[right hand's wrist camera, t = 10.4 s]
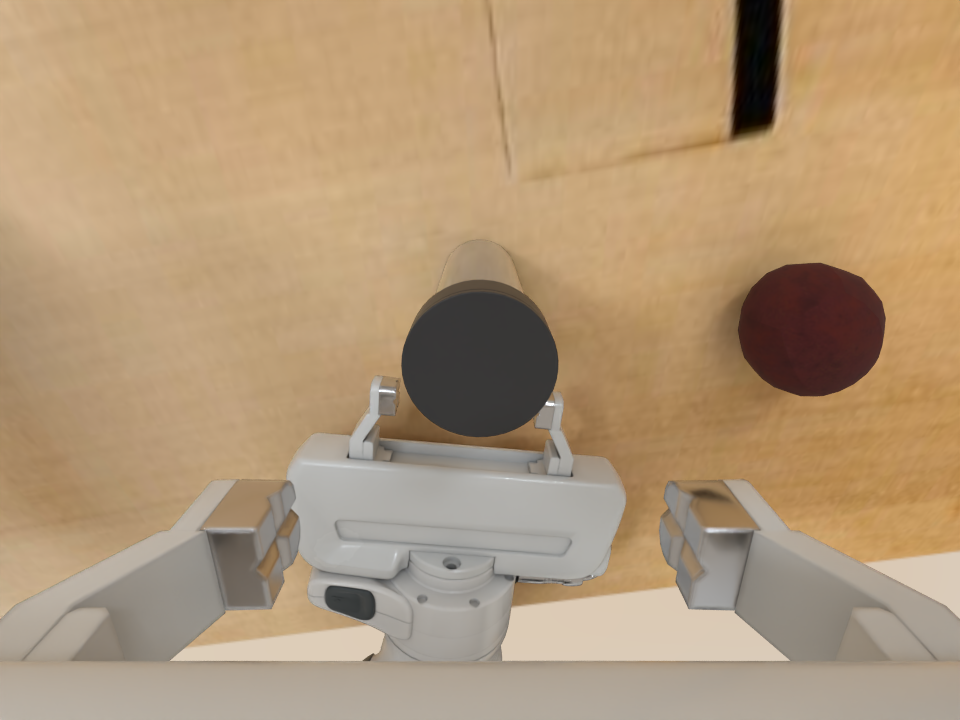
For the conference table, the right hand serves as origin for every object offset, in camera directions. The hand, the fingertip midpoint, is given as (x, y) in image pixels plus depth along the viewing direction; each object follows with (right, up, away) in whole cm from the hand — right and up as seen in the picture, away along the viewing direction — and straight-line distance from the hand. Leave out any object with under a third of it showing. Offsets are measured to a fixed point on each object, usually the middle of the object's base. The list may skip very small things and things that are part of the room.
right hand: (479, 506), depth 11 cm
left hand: (-1, +1, +19) cm, 19 cm away
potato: (+19, +6, +22) cm, 30 cm away
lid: (0, +3, +7) cm, 8 cm away
